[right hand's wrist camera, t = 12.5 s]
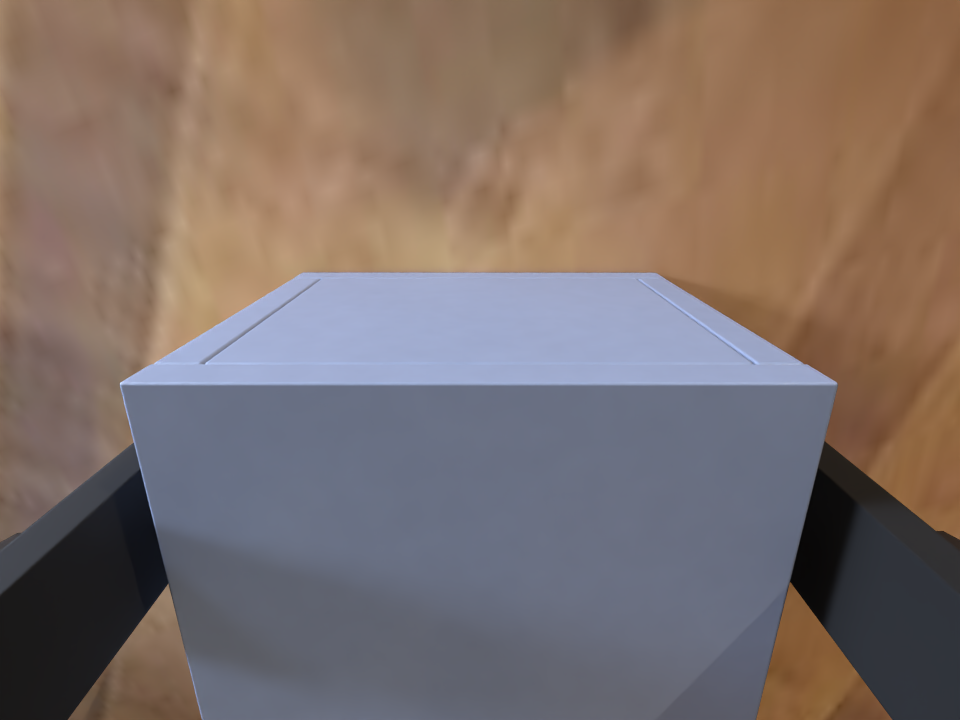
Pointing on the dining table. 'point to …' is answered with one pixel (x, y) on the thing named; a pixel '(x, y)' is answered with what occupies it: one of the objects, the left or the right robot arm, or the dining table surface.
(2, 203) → the dining table surface
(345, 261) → the dining table surface
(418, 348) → the cabinet
